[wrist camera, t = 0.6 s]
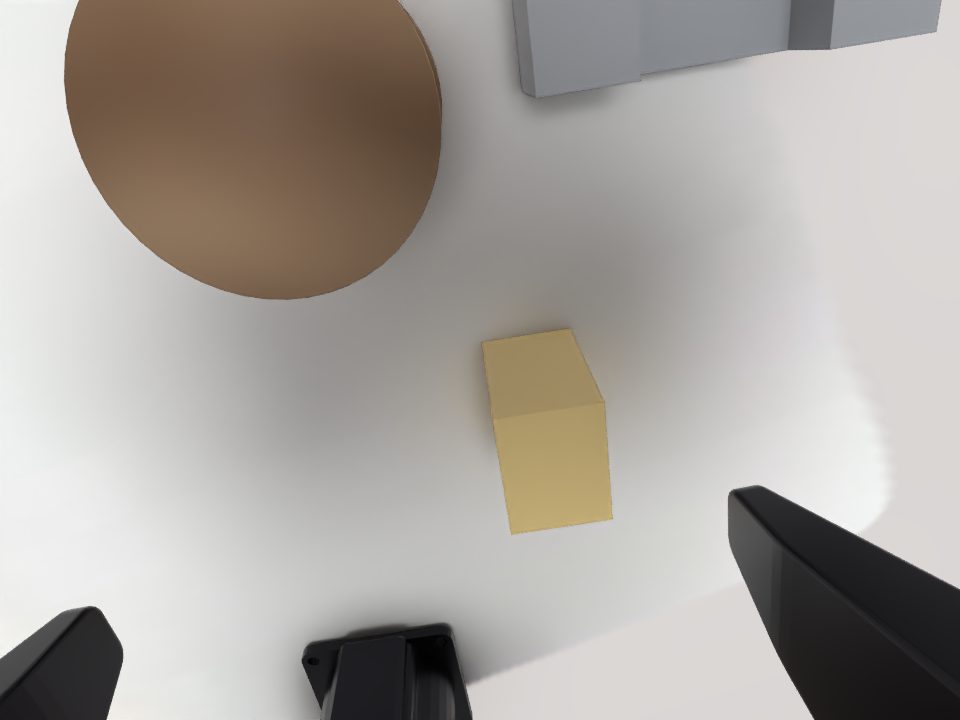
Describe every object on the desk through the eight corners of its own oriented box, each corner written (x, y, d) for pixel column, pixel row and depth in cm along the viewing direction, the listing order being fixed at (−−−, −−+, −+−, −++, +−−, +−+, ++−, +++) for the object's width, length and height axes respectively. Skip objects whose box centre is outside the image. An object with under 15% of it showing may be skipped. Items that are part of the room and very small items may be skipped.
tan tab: (579, 427, 23) (612, 519, 18) (497, 439, 23) (511, 534, 18) (569, 327, 21) (604, 402, 16) (481, 341, 21) (492, 420, 16)
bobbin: (460, 210, 19) (466, 272, 13) (234, 246, 19) (150, 322, 14) (415, -65, 16) (400, -127, 10) (145, -18, 16) (-9, -56, 10)
